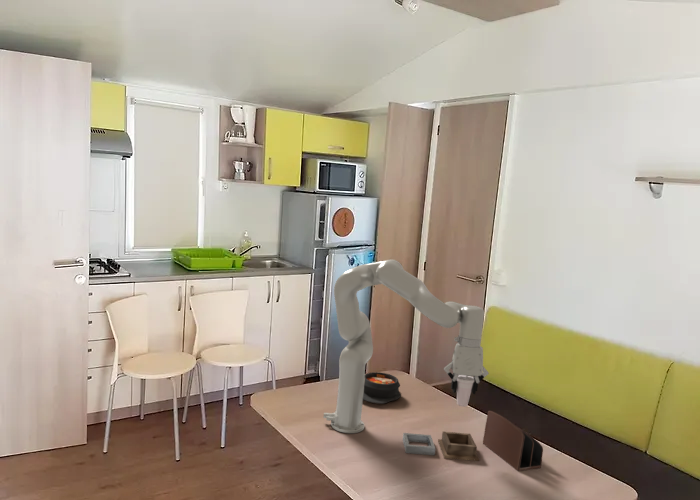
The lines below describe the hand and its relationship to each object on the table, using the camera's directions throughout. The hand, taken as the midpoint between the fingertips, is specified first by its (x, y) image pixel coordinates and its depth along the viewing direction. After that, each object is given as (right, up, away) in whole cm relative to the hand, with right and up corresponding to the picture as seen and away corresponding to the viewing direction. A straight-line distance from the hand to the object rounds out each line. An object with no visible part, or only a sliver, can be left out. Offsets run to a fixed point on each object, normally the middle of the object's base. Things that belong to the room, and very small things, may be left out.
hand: (463, 391), depth 187 cm
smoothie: (0, -5, +1) cm, 5 cm away
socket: (-1, -22, +3) cm, 22 cm away
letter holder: (+17, -24, +3) cm, 30 cm away
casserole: (-27, -15, +46) cm, 55 cm away
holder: (-15, -20, +3) cm, 26 cm away
